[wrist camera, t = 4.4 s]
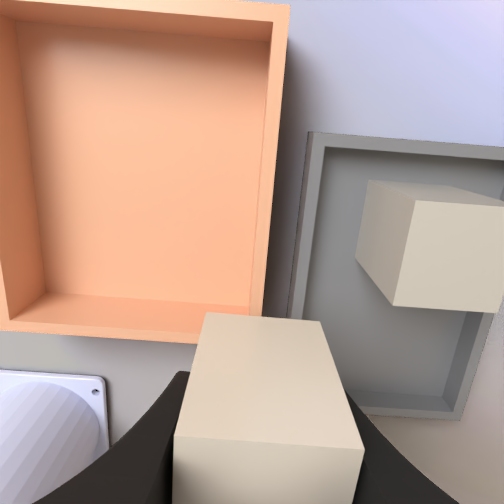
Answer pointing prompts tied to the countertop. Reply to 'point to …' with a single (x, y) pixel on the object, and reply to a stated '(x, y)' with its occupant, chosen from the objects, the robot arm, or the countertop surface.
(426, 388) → the stone tray
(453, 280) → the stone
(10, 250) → the bin
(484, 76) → the countertop surface
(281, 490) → the block
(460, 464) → the countertop surface
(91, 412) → the robot arm
